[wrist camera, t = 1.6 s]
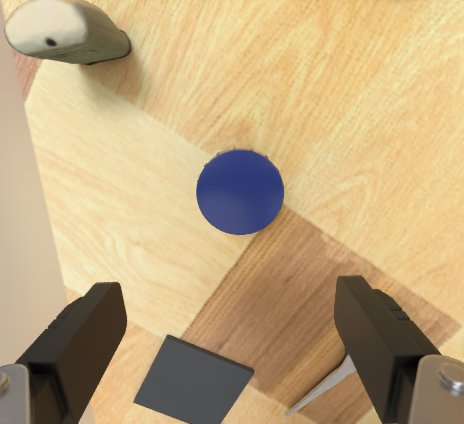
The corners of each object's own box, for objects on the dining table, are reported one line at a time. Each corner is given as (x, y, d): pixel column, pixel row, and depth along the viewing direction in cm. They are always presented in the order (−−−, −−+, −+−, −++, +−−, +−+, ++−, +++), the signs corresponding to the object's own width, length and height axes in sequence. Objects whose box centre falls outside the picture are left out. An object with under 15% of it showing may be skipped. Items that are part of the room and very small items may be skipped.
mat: (253, 369, 35) (254, 373, 35) (214, 428, 39) (214, 433, 38) (167, 334, 34) (166, 337, 34) (134, 398, 37) (133, 402, 37)
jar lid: (295, 170, 20) (300, 174, 18) (256, 238, 22) (258, 248, 20) (220, 132, 19) (218, 132, 17) (187, 205, 21) (182, 213, 19)
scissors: (387, 301, 32) (266, 398, 36) (392, 306, 31) (267, 405, 35) (423, 335, 33) (302, 425, 37) (429, 340, 32) (304, 433, 36)
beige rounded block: (102, 96, 26) (45, 84, 18) (57, 51, 25) (-23, 18, 17) (142, 49, 25) (98, 15, 17) (97, -1, 24) (29, -61, 16)
